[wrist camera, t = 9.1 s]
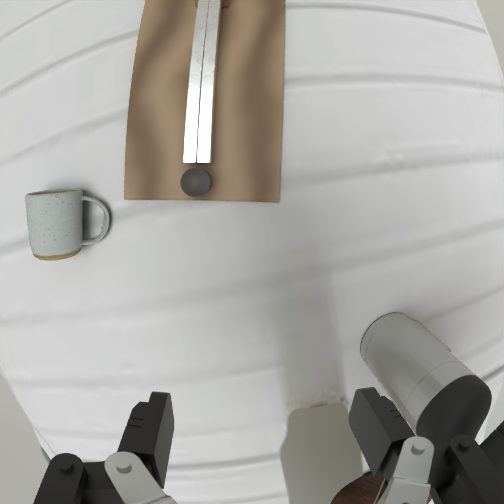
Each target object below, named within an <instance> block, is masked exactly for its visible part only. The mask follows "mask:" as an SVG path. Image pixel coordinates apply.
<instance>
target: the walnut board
mask: <svg viewBox="0 0 504 504" xmlns="http://www.w3.org/2000/svg"><path fill="white" fill-rule="evenodd" d="M197 8H198V7H196V5H195V0H146V1H145V6H144V10H143V15H142V20H141V25H140V30H139V36H138V41H137V47H136V53H135V60H134V67H133V74H132V82H131V90H130V99H129V110H128V121H127V135H126V152H125V181H124V200H225V201H256V202H279V194H280V172H281V149H282V122H283V89H284V43H285V0H229V5H228V7H222V10H221V21H220V33H219V45H218V59H217V73H216V89H215V106H214V126H213V149H212V165H201V164H200V165H193V164H187V163H184V145H185V127H186V112H187V99H188V87H189V76H190V65H191V56H192V47H193V38H194V30H195V22H196V15H197Z"/></svg>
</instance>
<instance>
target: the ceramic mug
mask: <svg viewBox="0 0 504 504" xmlns="http://www.w3.org/2000/svg"><path fill="white" fill-rule="evenodd" d="M83 200H88V201H91V202H93V203H96V204H97V205H99V206H100V207H101V208H102V210H103V211H104V222H103V226H102V227H101V230H102V231H101V234H100V235H99V236H97V237H96V238H93V239H89V240H83V230H82V228H83V225H82V214H83ZM25 201H26V212H27V222H28V230H29V240H30V246H31V249H32V252H33V255H34V256H35V257H36V258H38V259H40V260H60V259H65V258H69V257H72V256H74V255H76V254H77V253H78V252H79V251H80V250H81V247H82V245H90V244H94V243H96V242H98V241H100V240H101V239H102V238H103V237H104V236H105V234H106V233H107V231H108V227H109V212H108V210H107V208H106V206H105V205H104V204H103V203H102V202H101V201H99V200H97V199H95V198H92V197H88V196H83V191H82V190H81V189H58V190H47V191H39V192H34V193H29V194H27V195H26V197H25Z"/></svg>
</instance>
